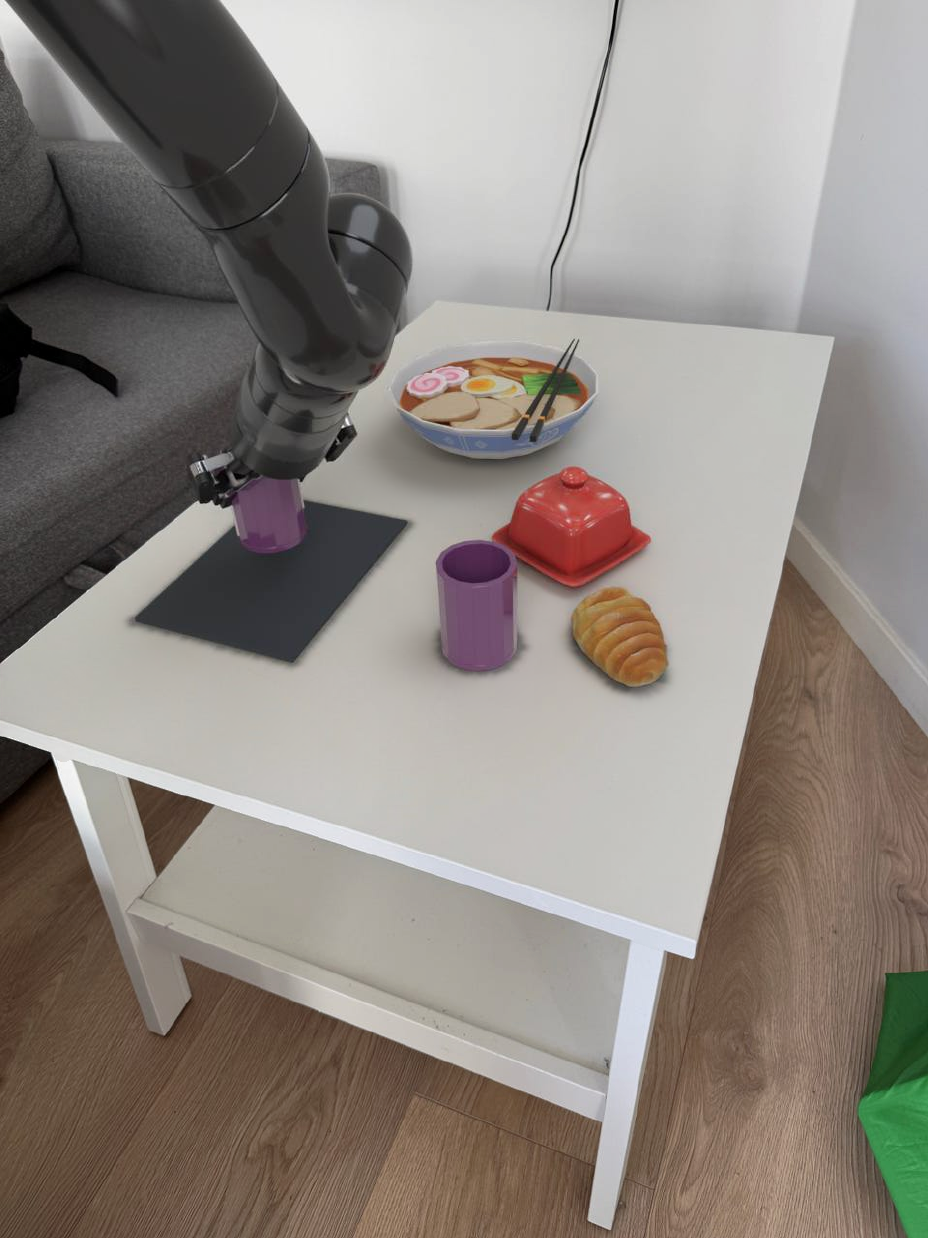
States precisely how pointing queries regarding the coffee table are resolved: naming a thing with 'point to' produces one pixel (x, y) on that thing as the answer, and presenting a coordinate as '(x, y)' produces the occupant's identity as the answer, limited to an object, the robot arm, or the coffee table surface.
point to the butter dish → (572, 527)
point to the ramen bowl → (494, 396)
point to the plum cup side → (477, 604)
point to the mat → (274, 584)
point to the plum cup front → (270, 515)
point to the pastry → (620, 636)
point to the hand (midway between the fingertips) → (257, 485)
